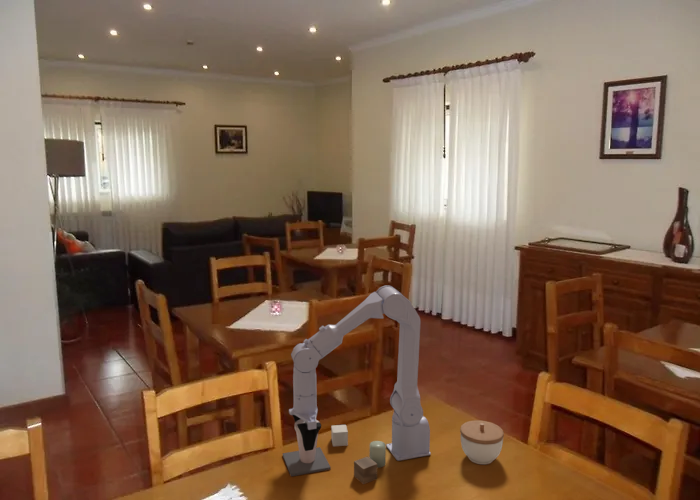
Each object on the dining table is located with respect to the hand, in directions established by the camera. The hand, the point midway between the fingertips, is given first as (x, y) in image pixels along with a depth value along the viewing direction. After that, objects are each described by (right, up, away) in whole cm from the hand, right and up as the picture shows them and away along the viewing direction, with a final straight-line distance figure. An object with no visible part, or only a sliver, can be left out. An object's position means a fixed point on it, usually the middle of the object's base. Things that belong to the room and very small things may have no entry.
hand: (305, 443), depth 140 cm
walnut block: (+15, -6, -6) cm, 17 cm away
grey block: (+8, -4, +11) cm, 14 cm away
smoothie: (0, -5, +1) cm, 5 cm away
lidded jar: (+45, -5, +3) cm, 45 cm away
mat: (0, -5, +1) cm, 5 cm away
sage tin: (+18, -5, +1) cm, 19 cm away
